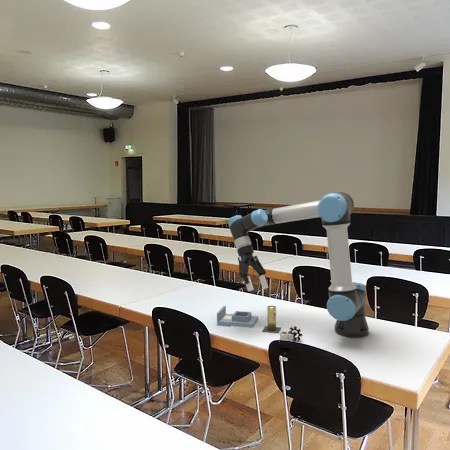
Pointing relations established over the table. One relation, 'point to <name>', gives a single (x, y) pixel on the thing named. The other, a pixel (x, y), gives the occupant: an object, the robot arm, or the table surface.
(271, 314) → the brass peg
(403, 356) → the table surface
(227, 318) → the grey socket fixture
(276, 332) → the pad
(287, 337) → the valve
